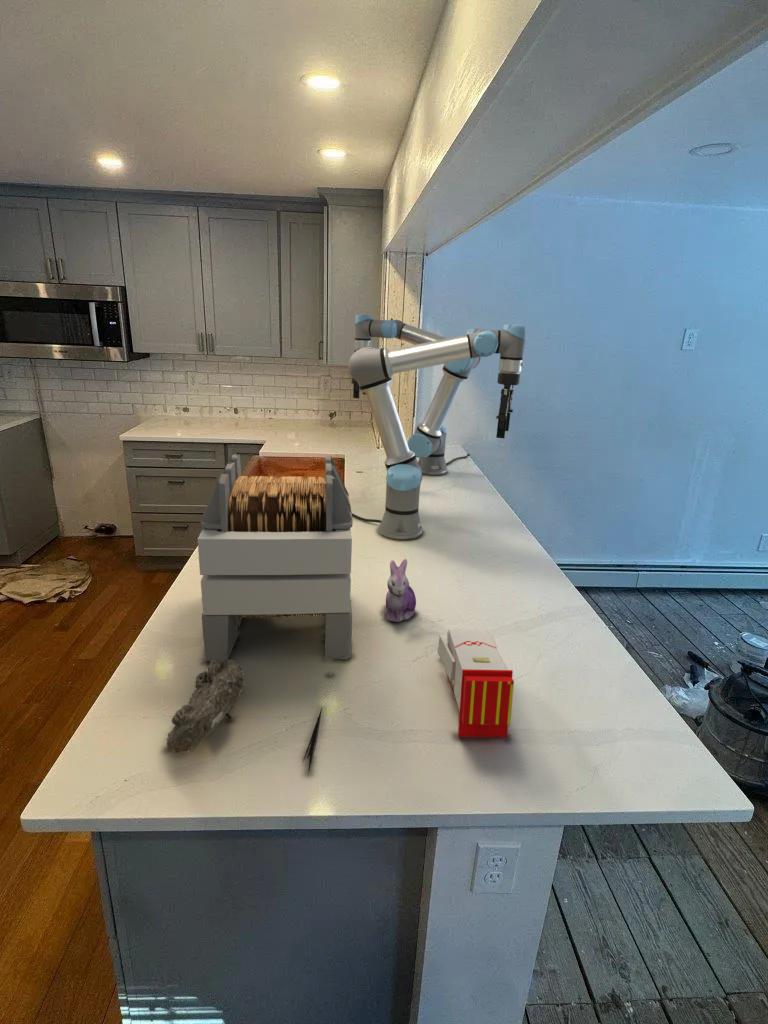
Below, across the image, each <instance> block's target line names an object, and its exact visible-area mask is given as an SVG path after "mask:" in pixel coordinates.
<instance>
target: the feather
mask: <svg viewBox="0 0 768 1024" xmlns="http://www.w3.org/2000/svg"><path fill="white" fill-rule="evenodd" d="M329 675H330V676H331V675H332V674H331V673H330V674H329ZM322 710H323V707H321V708H320V710H319V713H318V716H317V719H316V723H315V725H314V728H313V731H312V733H311V737H310V739H309V742H308V745H307V748H306V751H305V754H304V757H303V760H302V763H301V767H302V765H303V763H304V761H305V758H308V759H309V760H308V762H307V763H308V764H307V766H308V771H310V770H311V766H312V765H311V764H312V760H313V757H315V756H314V755H315V751H316V749H315V746H317V739H318V733H319V729H320V722H321V717H322V712H323V711H322ZM313 754H314V755H313ZM306 755H307V757H306Z"/></svg>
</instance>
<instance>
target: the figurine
mask: <svg viewBox="0 0 768 1024" xmlns="http://www.w3.org/2000/svg"><path fill="white" fill-rule="evenodd" d="M407 567H408V559H406V558H404V559H403V560H402V561H401V563H400V565H399V566H398V565H397V563H396V562H395V561H394V560H393V559H391V560H390V561H389V570H390V576H389V578H388V579H387V589H388V591H387V592H386V594H385V595H386V596H385V607H384V615H385V616H386V620H387V621H391V622H395V623H400V622H402V621H406V620H409V619H410V618H411V617H413V616H414V615H415V610H416V606H417V597H416V593H415V591H414V590H413V587H411V586H410V582H409V579H408V577H407V574H406V571H407Z"/></svg>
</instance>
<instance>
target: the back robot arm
mask: <svg viewBox="0 0 768 1024" xmlns="http://www.w3.org/2000/svg"><path fill="white" fill-rule="evenodd" d="M372 338H380V339H397V340H400V341H403V342H406V343H408V344H411V345H417V344H422V343H427V342H432V341H437V340H442V339H447V338H448V337H445V336H442V335H439V334H437V333H434V332H432V331H428V330H426V329H422V328H419V327H416V326H413V325H412V324H408V323H405V322H403V321H402V320H399V319H391V320H390V319H373V317H372V315H371V314H361V313H358V314H356V315H355V319H354V341H353V342H354V343H353V345H354V346H353V349H354V351H353V354H354V353H355V352H356V351H357V350H359V349H361V348H363V347H366V346H373V345H372V344H373V343H372ZM481 361H482V357H476V358H471V359H465V360H460V361H455V362H450V363H445V364H443V366H442V372H443V375H442V377H441V380H440V382H439V384H438V387H437V388H436V391H435V393H434V396H433V398H432V400H431V402H430V404H429V407H428V410H427V412H426V414H425V417H424V418H423V421H421V422H420V423H418V424H417V426H416V428H415V431H414V433H413V434H411V436H410V437H409V438H408V440H407V444H408V447H409V450H410V451H412V452H414V453H415V456H416V459H418V460H417V462H418V464H419V465H420V467H421V469H422V475H425V476H443V475H446V474H447V473H448V465H449V464H451V463H453V462H454V461H456V460H461V459H464V458H468V456H470V457H471V454H470V453H467V454H466V455H465V456H458V457H455V458H453V459H451V460H450V461H448V462H447V461H446V459H445V458H446V457H445V453H446V452H445V451H446V441H447V434H448V433H447V427H446V426H444V425H443V424H444V422H445V420H446V418H447V416H448V413H449V411H450V409H451V407H452V405H453V403H454V400H455V398H456V396H457V394H458V391H459V389H460V387H461V385H462V383H463V382H465V381H467V380H468V378H469V376H470V374H471V371H472V370H473V369H475V368H477V367H478V365H479V364H480V363H481ZM350 384H352V385H353V387H352V389H353V390H352V392H353V393H352V398H353V399H357V400H358V399H360V387H359V384H358V382H357V381H356V380H355V379H354V378H353V377H352V376H351V383H350ZM362 395H366V393H364V392H362ZM366 396H367V395H366Z"/></svg>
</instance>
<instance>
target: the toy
mask: <svg viewBox="0 0 768 1024" xmlns="http://www.w3.org/2000/svg"><path fill="white" fill-rule="evenodd" d="M446 640H447V643H446V641H445V639H444V636H443V635H442V634H439V637H438V646H437V656H438V657H439V659H440V661H441V663H442V666H443V668H444V670H445V672H446V674H447V677H448V679H449V681H450V684H451V687H452V690H453V693H454V697H455V701H456V705H457V708H458V711H459V714H458V715H459V716H458V730H457V731H458V732H457V737H458V738H508V731H509V726H510V725H511V717H512V707H513V697H514V696H513V695H514V684H515V680H514V679H513V673H514V671H513V670H512V669H508V667H507V665H506V662H505V661H504V659H503V658H502V655H501V653H500V651H499V649H498V647H497V643H496V639H495V637H494V635H493V634H491V632H490V631H489V629H467V628H466V629H465V628H463V629H461V628H460V629H459V628H448V630H447V639H446Z"/></svg>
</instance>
